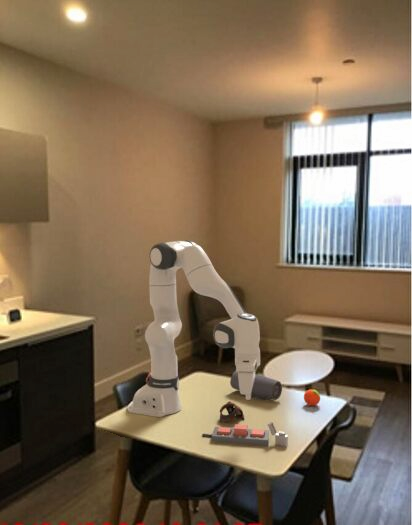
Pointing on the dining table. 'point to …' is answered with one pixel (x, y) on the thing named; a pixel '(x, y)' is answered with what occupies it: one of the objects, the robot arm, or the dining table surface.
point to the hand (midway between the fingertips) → (248, 398)
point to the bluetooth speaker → (260, 387)
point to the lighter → (278, 435)
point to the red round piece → (311, 397)
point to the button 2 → (240, 430)
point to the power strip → (239, 438)
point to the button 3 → (257, 433)
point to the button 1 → (224, 431)
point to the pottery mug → (231, 412)
